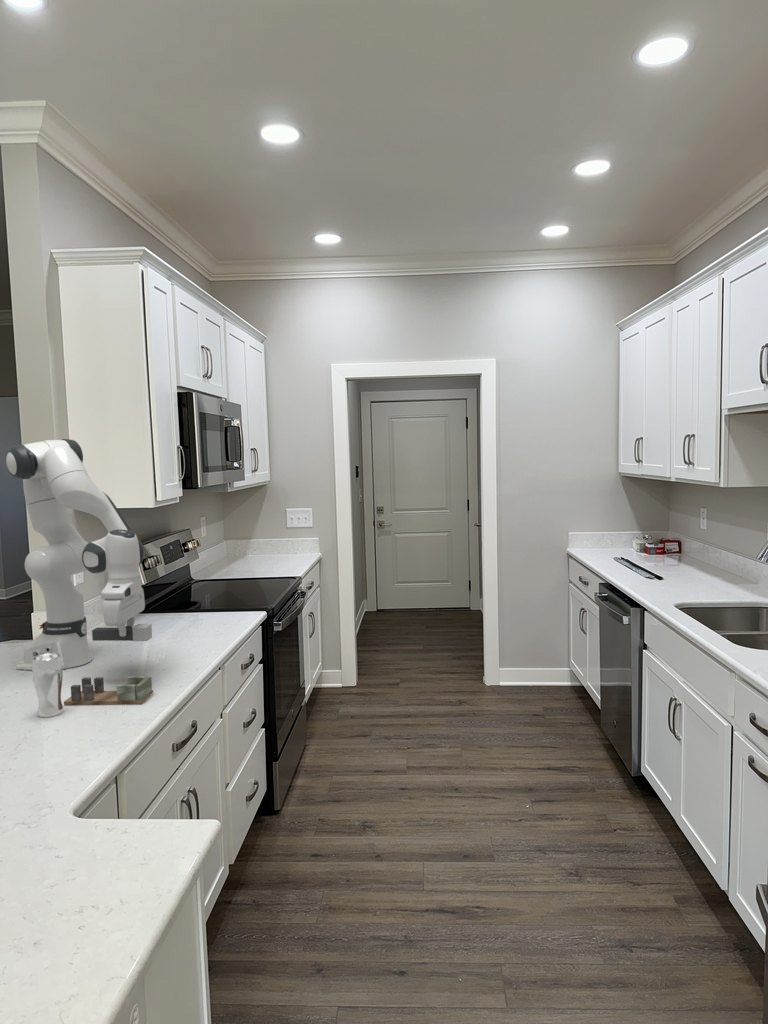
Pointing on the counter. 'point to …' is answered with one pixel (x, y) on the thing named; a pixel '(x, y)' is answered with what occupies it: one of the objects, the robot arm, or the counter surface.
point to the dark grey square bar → (112, 634)
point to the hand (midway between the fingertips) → (126, 633)
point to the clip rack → (110, 692)
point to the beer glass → (48, 683)
